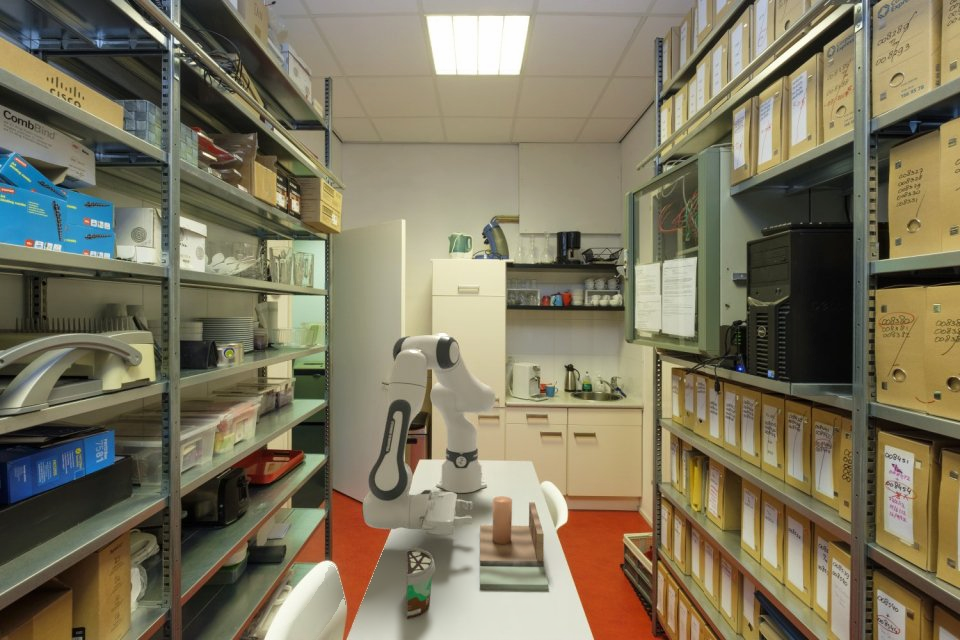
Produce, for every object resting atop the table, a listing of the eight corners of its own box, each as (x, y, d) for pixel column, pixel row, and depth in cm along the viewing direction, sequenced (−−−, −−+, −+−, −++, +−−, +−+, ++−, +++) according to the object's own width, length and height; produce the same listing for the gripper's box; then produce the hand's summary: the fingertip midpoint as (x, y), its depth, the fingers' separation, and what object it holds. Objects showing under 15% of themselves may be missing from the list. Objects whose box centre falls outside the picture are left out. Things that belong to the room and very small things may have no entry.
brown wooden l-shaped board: (480, 532, 139) (480, 501, 139) (534, 532, 139) (534, 502, 139) (479, 589, 110) (480, 550, 110) (548, 589, 110) (548, 551, 110)
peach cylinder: (491, 535, 132) (492, 496, 132) (510, 535, 132) (511, 496, 133) (492, 544, 127) (493, 503, 127) (512, 544, 127) (512, 503, 127)
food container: (436, 620, 98) (437, 573, 98) (407, 623, 97) (407, 575, 97) (433, 587, 110) (433, 544, 110) (406, 589, 109) (406, 546, 109)
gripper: (417, 516, 119) (471, 517, 119) (426, 487, 140) (472, 487, 140) (416, 541, 119) (471, 541, 119) (426, 508, 140) (472, 509, 140)
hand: (472, 512), depth 130 cm, fingers open, 8 cm apart
